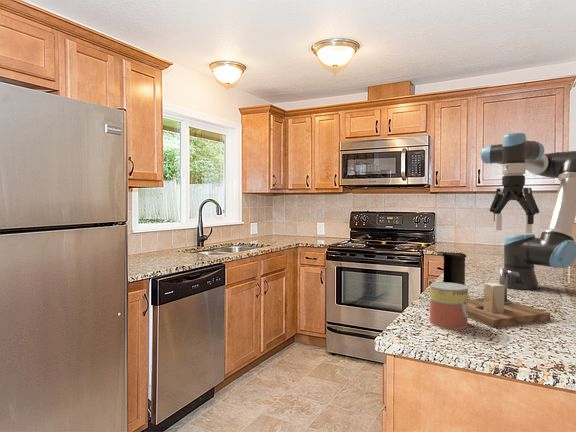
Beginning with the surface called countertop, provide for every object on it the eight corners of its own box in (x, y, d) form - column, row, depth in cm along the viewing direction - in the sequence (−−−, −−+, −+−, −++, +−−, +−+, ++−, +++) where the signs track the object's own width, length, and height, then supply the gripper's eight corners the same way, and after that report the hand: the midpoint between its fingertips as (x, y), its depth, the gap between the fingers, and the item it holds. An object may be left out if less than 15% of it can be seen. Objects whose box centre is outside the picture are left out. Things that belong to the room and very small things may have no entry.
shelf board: (496, 303, 152) (496, 297, 152) (550, 320, 131) (550, 312, 131) (445, 308, 145) (445, 302, 145) (493, 327, 124) (493, 319, 124)
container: (465, 297, 161) (465, 252, 160) (467, 303, 153) (468, 255, 152) (441, 296, 164) (441, 251, 163) (441, 301, 156) (442, 254, 155)
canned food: (464, 331, 121) (465, 291, 121) (425, 325, 127) (426, 287, 127) (470, 321, 131) (470, 284, 130) (433, 316, 137) (434, 280, 136)
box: (482, 314, 138) (483, 282, 137) (494, 314, 138) (495, 282, 138) (492, 319, 133) (493, 285, 132) (504, 318, 133) (505, 285, 133)
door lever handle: (503, 300, 147) (503, 267, 147) (523, 306, 139) (523, 271, 139) (492, 301, 146) (492, 268, 145) (511, 307, 138) (512, 272, 137)
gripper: (480, 176, 163) (479, 229, 164) (535, 173, 139) (533, 234, 140) (495, 176, 165) (494, 229, 166) (551, 173, 141) (550, 234, 142)
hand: (512, 231), depth 153 cm, fingers open, 13 cm apart
